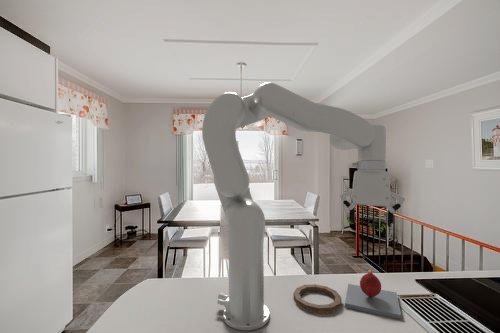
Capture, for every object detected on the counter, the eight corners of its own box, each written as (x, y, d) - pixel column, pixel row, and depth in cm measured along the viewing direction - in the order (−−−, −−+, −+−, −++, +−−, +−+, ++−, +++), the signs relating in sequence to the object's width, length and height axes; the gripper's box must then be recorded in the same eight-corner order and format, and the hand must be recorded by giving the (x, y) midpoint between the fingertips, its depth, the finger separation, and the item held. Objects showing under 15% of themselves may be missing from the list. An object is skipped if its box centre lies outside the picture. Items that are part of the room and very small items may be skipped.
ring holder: (288, 306, 74) (288, 301, 74) (300, 286, 86) (300, 281, 86) (338, 318, 68) (338, 312, 68) (342, 294, 80) (342, 289, 80)
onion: (384, 303, 73) (383, 275, 73) (362, 301, 74) (362, 274, 74) (378, 293, 79) (377, 267, 79) (358, 291, 80) (358, 266, 80)
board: (345, 307, 73) (345, 303, 73) (348, 287, 85) (348, 283, 85) (401, 319, 67) (401, 315, 67) (396, 296, 79) (396, 292, 79)
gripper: (339, 166, 76) (338, 223, 76) (406, 167, 69) (406, 230, 69) (341, 166, 83) (341, 219, 83) (403, 167, 76) (402, 224, 76)
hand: (370, 224), depth 76 cm, fingers open, 9 cm apart
